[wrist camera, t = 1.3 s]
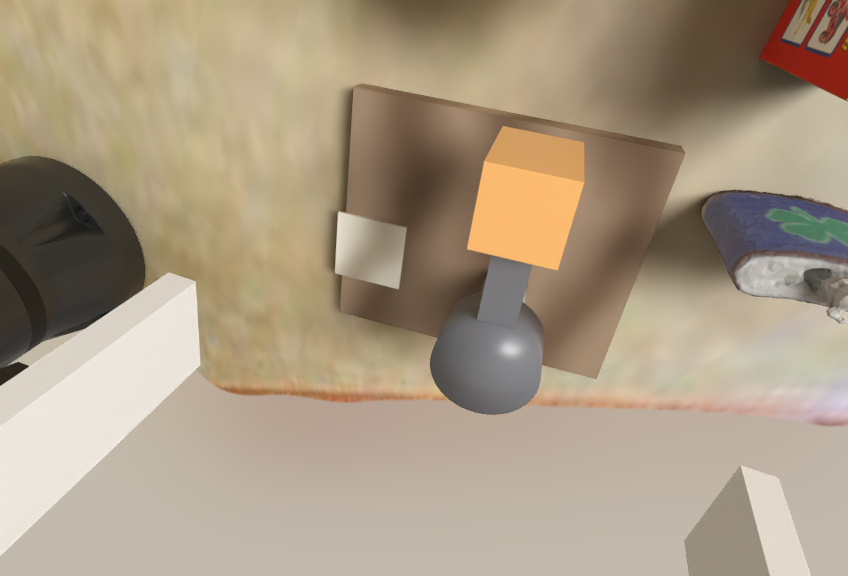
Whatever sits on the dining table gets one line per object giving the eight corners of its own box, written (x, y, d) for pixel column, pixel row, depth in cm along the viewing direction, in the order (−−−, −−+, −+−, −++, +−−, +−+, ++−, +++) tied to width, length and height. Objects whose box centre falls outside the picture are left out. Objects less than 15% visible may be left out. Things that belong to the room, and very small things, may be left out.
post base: (340, 300, 44) (298, 357, 38) (354, 82, 35) (302, 106, 29) (595, 366, 41) (598, 441, 35) (681, 146, 32) (705, 190, 26)
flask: (693, 222, 34) (733, 310, 25) (712, 178, 33) (762, 255, 24) (850, 256, 33) (952, 362, 24) (878, 211, 31) (997, 307, 22)
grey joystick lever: (531, 381, 34) (522, 452, 29) (438, 357, 35) (414, 421, 30) (605, 146, 26) (610, 188, 21) (482, 121, 27) (459, 156, 22)
